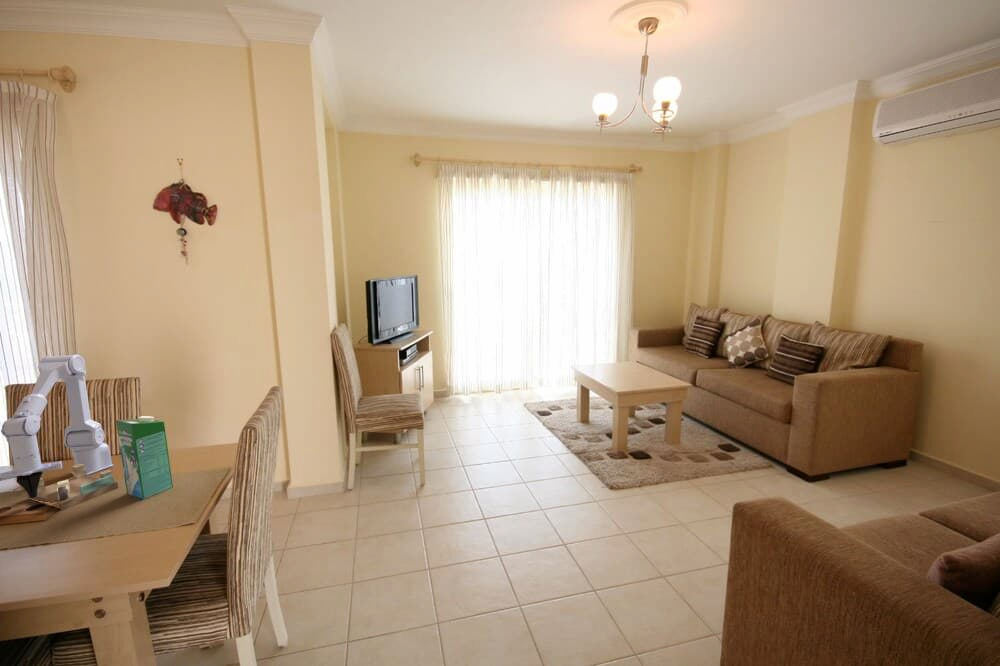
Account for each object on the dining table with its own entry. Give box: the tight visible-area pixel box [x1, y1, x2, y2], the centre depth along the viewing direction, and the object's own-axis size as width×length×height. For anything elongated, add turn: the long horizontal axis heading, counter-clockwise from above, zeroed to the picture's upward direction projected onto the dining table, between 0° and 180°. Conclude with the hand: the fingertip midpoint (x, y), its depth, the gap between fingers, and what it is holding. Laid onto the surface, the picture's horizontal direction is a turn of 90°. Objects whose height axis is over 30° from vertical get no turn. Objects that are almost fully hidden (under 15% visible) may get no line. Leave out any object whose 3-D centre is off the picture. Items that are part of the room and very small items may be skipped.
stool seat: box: [26, 464, 119, 511], centre depth 149 cm, size 15×19×6 cm
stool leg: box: [56, 479, 70, 500], centre depth 145 cm, size 10×2×4 cm, turn 43°
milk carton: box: [115, 415, 174, 500], centre depth 149 cm, size 9×9×25 cm
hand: (33, 496), depth 142 cm, fingers closed
